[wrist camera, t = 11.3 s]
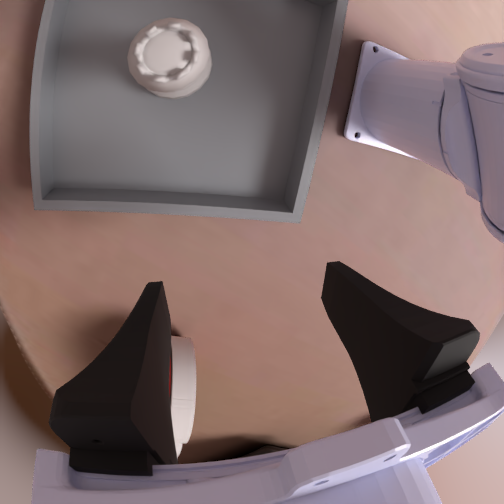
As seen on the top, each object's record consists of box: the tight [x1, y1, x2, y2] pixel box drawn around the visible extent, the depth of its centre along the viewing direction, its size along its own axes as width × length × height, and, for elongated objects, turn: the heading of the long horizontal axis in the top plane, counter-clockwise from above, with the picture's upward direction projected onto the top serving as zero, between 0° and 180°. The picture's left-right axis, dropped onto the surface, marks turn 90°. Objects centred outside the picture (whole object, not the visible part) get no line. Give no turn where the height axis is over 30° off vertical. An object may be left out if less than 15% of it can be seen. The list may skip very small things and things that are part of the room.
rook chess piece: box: [127, 18, 213, 99], centre depth 12 cm, size 4×4×8 cm
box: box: [30, 0, 348, 223], centre depth 16 cm, size 18×16×3 cm
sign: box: [169, 336, 196, 459], centre depth 28 cm, size 22×2×10 cm, turn 161°
